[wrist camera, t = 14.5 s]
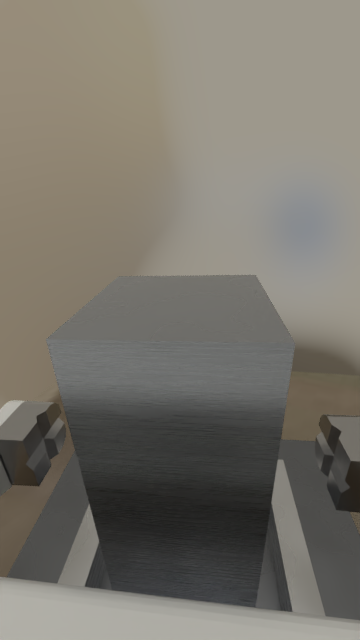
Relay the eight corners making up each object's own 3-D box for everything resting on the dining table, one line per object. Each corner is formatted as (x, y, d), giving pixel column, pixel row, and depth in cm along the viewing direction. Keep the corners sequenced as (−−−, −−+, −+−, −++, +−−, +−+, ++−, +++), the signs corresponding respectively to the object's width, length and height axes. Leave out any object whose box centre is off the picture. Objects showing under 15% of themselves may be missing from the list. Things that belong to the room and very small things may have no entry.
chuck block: (315, 455, 18) (323, 419, 16) (677, 1358, 4) (891, 1544, 3) (89, 441, 19) (81, 408, 18) (-210, 1042, 6) (-326, 1068, 4)
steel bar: (236, 531, 13) (255, 275, 8) (246, 665, 9) (295, 343, 4) (150, 523, 13) (118, 276, 8) (127, 649, 9) (46, 339, 5)
